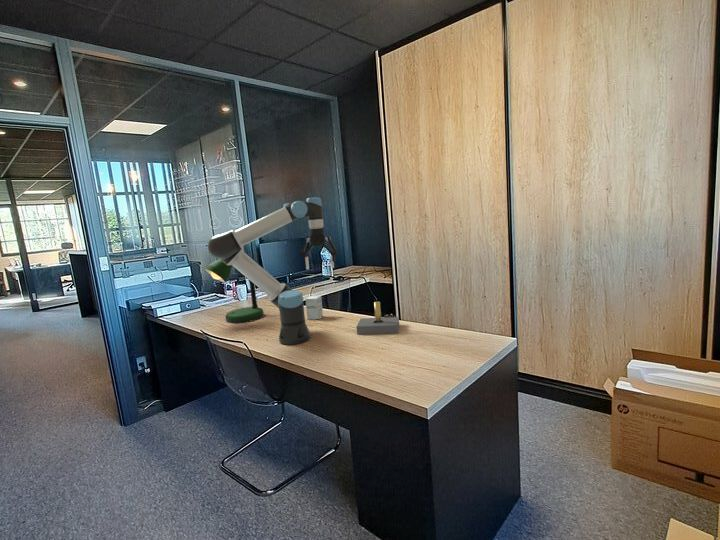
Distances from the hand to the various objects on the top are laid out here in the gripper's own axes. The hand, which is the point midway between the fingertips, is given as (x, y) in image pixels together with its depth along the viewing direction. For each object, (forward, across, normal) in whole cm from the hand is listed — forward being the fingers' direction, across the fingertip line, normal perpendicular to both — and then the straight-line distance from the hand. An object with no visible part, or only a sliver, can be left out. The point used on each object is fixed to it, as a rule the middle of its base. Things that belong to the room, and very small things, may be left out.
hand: (320, 268), depth 196 cm
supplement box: (+32, +11, -18) cm, 38 cm away
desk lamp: (+32, +61, -21) cm, 72 cm away
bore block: (+31, -30, +7) cm, 44 cm away
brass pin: (+31, -30, +7) cm, 44 cm away
